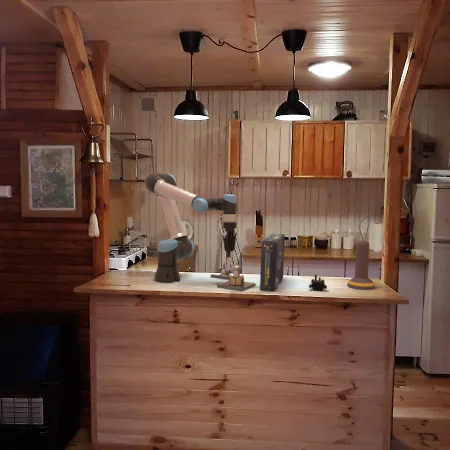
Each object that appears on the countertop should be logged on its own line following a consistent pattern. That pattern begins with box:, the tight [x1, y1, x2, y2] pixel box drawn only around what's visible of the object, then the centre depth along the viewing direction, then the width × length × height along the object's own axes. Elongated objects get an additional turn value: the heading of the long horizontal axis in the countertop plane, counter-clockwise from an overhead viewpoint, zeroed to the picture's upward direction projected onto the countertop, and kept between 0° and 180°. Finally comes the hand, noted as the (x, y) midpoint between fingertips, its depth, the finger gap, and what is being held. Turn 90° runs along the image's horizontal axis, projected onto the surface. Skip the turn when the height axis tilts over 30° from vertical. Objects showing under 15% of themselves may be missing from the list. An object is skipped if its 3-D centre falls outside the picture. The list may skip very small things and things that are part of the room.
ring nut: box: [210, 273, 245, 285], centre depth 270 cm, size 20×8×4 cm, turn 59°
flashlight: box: [347, 216, 376, 291], centre depth 271 cm, size 15×40×15 cm
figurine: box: [219, 259, 233, 276], centre depth 295 cm, size 12×9×15 cm
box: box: [259, 233, 286, 292], centre depth 274 cm, size 35×9×28 cm, turn 166°
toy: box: [308, 274, 328, 292], centre depth 274 cm, size 10×5×30 cm
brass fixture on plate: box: [216, 264, 257, 292], centre depth 267 cm, size 16×16×12 cm
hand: (229, 262), depth 276 cm, fingers closed
